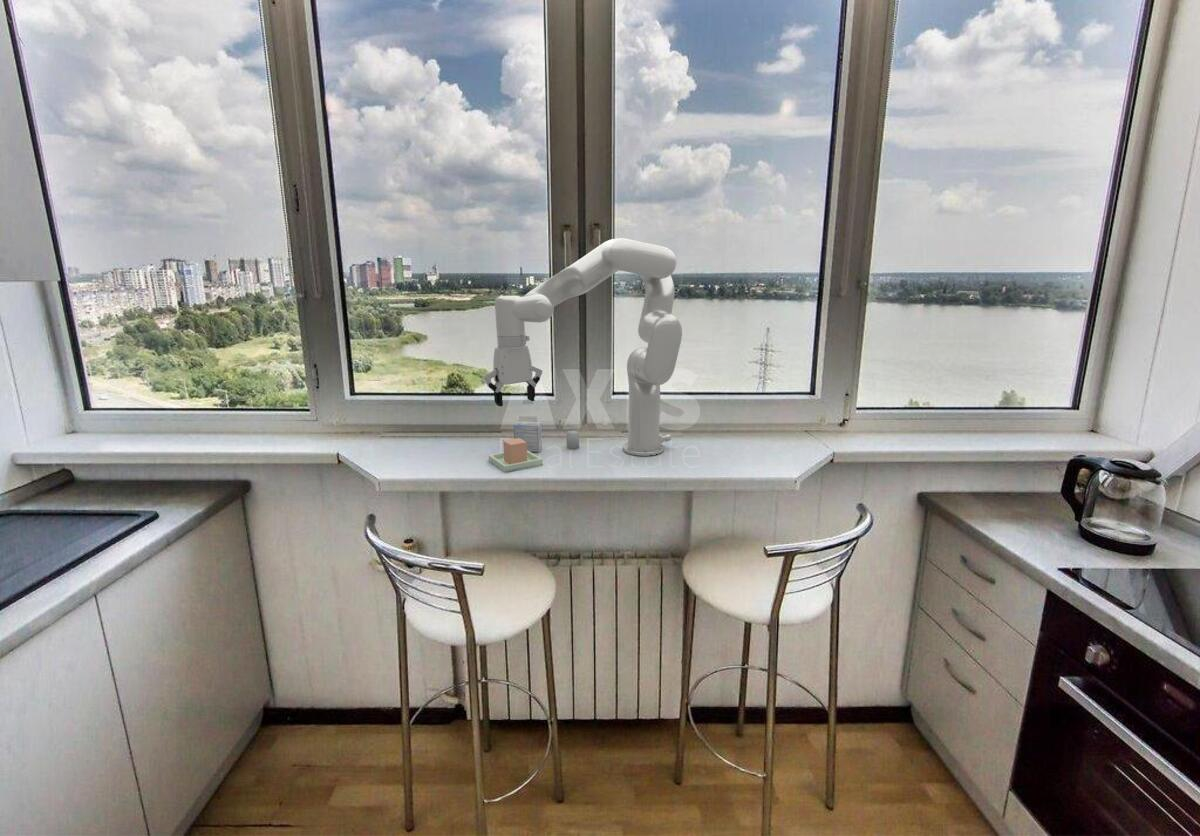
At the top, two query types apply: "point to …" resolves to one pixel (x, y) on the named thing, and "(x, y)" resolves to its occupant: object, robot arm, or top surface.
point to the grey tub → (572, 439)
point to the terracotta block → (515, 451)
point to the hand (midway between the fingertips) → (515, 402)
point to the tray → (504, 466)
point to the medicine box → (529, 434)
